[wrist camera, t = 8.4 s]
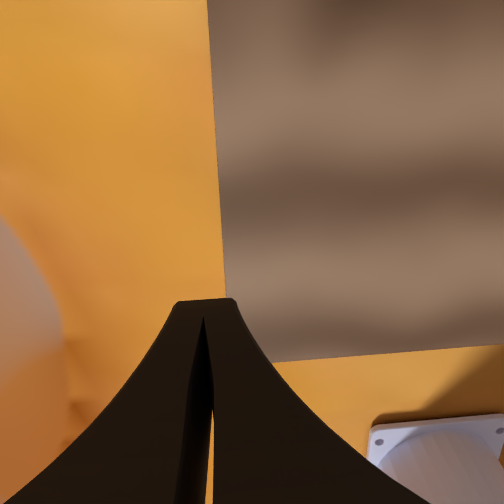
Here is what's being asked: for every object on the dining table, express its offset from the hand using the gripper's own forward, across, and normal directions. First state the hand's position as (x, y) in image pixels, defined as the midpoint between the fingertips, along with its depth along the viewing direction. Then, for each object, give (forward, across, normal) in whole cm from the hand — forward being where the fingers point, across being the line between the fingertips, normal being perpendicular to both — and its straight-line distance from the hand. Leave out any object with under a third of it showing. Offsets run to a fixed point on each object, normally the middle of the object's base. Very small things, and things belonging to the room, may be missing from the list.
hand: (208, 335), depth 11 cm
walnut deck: (+9, -7, 0) cm, 12 cm away
